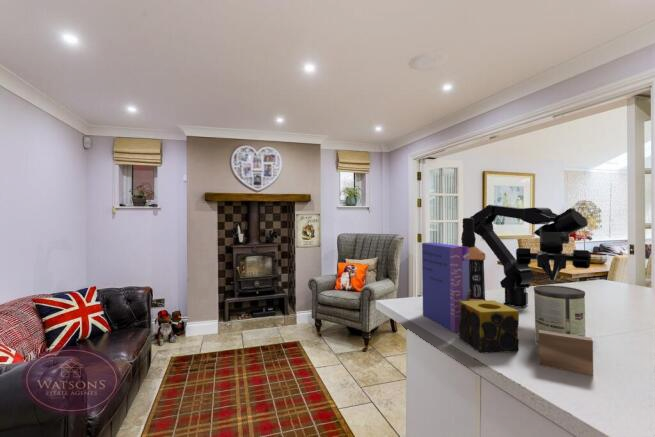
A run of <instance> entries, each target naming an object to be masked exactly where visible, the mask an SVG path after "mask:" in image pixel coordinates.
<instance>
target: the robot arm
mask: <svg viewBox="0 0 655 437" xmlns="http://www.w3.org/2000/svg"><path fill="white" fill-rule="evenodd" d="M498 216H500V217H506V218H513V219H517V220H518V219H519V220H521V221H522V222H525V223H527V224H530V225H542V226H540V227H538V229H536V230H534V232H533V234H534V235H536V236H537V237H539V251H537V252H536V253H535V252H531V247H517V248H516V249H515V257H514V255H513V254H512V253H511V251H510V250H509V249H508V248H507V246H506V245H505V243H504V242H503V241H502V240H501V238H500V237H499V236H498V234H497V233H496V232H495V231H494V224H493V223H494V222H495V220H496V219H497V217H498ZM469 218H473V219H474V233H475V235H477V236H479V237H480V238H482V239H483V241H484V242H485V243H486V244H487V247H489V249H490V250H491V251H492V253H493V254H494V255H495V256H496V258H497V259H498V260H499V262H500V263H501V265H502V266H503V274H504V275H505V277H504V278H503V279H501V281H499V283H500V286H501V288H502V289H504V302H503V303H502V304H504V305H506V306H509V307H518V308H525V307H526V306H527V305H528V304H529V293H528V292H527V289H528V288H529V289H530V286H531V283H533V281H534V276H535V275H534V273H533V269H532V268H531V267H530V266H529V265H530V264H531V262H532V261H536V264H537V268H539V269H542V270H543V271H544V273H545V274H546V275H547V277H548V279H549V280H550V281H553V282H554V281H555V279H556V278H557V276H558V274H559V273H560V272H561V270H566V268H567V262H572V266H573V267H574V268H576V269H589V268H590V267H591V259H592V254H591V251H589V250H587V249H586V250H585V249H573V251H572V253H563V252H564V244H566V245H568V244H570V235H572V234H574V233H576V232H578V231H580V230H581V229H584V228H586V227H588V224H589V223H588V220H587V219H586V217H585V216H583V215H582V213H580V212H579V211H577V210H576V208H574V207H572V208H571V207H570V208H567V209H566V210H565V211H563V212H562V213H560V214H556V213H554V212H553V210H552V209H551V208H549V207H524V208H523V207H522V208H521V207H512V206H506V205H499V204H488V205H486V206H485V207H484V208H483V209H481V210H479V211H477V212H476V213H474V214H473V215H471V216H470V217H469ZM551 262H553V265H552V268H551V264H550V263H551Z"/></svg>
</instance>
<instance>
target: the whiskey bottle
mask: <svg viewBox="0 0 655 437" xmlns="http://www.w3.org/2000/svg"><path fill="white" fill-rule="evenodd" d="M461 223H462V233H461V239H460V240H461V246H464V247H469V294H470V301H487V299H486V293H485V292H486V287H485V284H486V283H485V262H484V261H485V260H486V253H485V252H483V251H482V250H481V249H479V248H478V247H477V246H476V241H477V240H476V239H477V238H476V233H474V219H473V218H470V217H463V218H462V222H461Z"/></svg>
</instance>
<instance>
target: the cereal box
mask: <svg viewBox="0 0 655 437" xmlns="http://www.w3.org/2000/svg"><path fill="white" fill-rule="evenodd" d="M421 256H422V257H421V259H422V260H421V262H422V264H421V266H422V267H421V269H422V270H421V272H422V273H421V274H422V277H421V278H422V280H421V281H422V315H423V316H424V318H427V319H429V320H431V321H432V322H434V323H436V324H438V325H439V326H441V327H443V328H444V329H446V330H448V331H450V332H451V333H453V334H459V323H460V318H461V313H460V305H459V303H460V301H470V294H469V247H464V246H462V245H455V244H454V245H453V244H447V243H438V242H423V243H421Z"/></svg>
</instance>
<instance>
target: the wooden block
mask: <svg viewBox="0 0 655 437" xmlns="http://www.w3.org/2000/svg"><path fill="white" fill-rule="evenodd" d="M537 346H538V350H537V351H538V364H539V366H542V367H546V368H552V369H558V370H561V371H567V372H572V373H573V372H574V373H576V374H577V373H578V374H582V375H588V376H594V340H593V339H592V337H591V336H590V337H588V336H585V337H584V336H577V335H570V334H563V333H556V332H550V331H543V330H539V337H538V345H537Z"/></svg>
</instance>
